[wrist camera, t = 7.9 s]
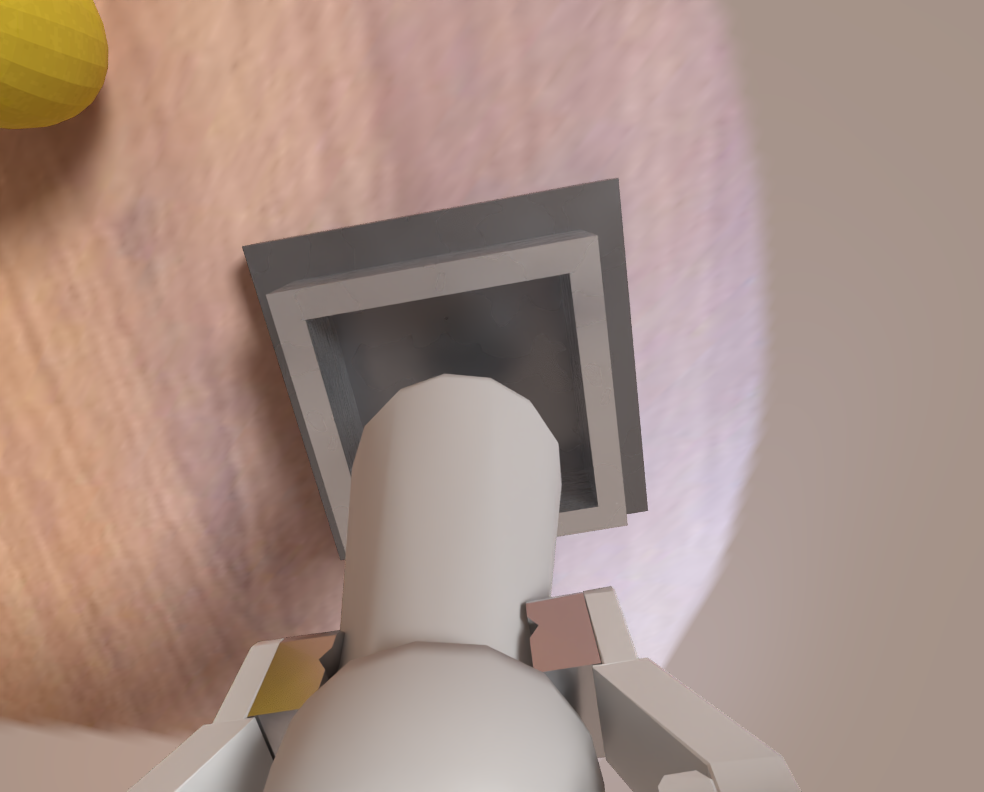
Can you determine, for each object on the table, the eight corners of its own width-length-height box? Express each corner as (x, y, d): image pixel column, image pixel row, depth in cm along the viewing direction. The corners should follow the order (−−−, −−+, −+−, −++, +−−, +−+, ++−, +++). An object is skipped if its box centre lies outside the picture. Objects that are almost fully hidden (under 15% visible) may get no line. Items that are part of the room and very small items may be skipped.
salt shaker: (514, 537, 19) (576, 1130, 7) (351, 492, 19) (106, 1065, 6) (577, 384, 17) (809, 828, 5) (398, 326, 17) (185, 686, 5)
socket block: (348, 540, 26) (322, 607, 22) (257, 243, 22) (203, 255, 17) (638, 493, 26) (670, 552, 21) (608, 179, 21) (641, 175, 17)
